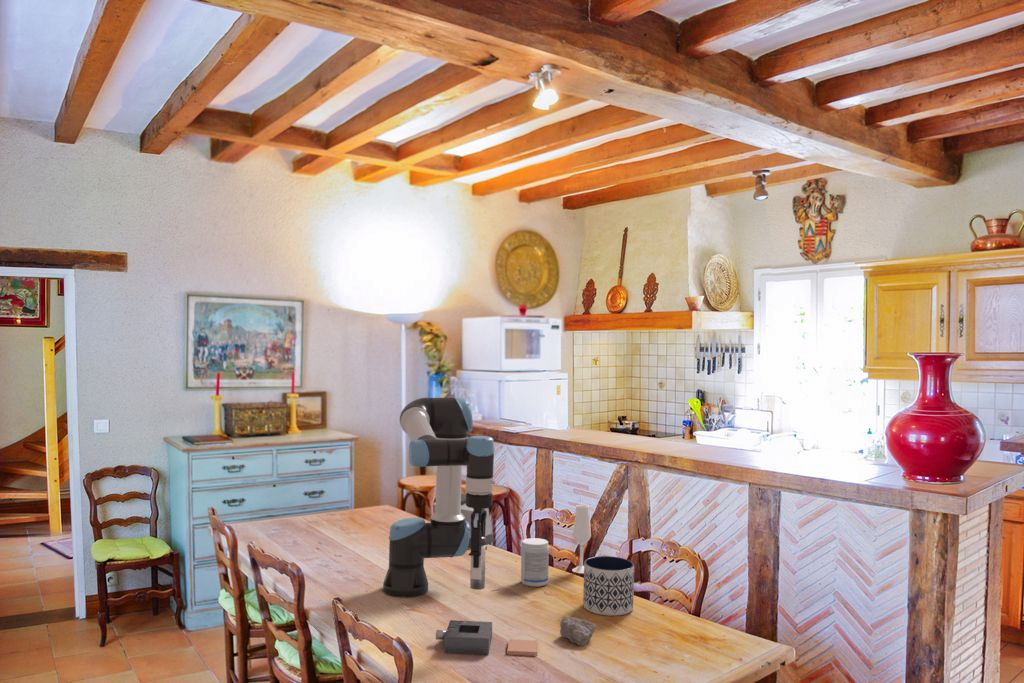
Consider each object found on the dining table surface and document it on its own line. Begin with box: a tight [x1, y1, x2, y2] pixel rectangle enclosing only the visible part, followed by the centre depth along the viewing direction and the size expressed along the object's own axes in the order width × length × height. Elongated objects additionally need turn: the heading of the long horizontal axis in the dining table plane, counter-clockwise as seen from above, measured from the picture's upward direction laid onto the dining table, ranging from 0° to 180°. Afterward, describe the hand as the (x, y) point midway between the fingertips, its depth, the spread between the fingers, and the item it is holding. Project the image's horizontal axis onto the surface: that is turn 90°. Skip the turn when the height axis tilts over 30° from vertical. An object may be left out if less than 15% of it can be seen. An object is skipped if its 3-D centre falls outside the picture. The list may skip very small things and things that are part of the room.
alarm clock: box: [432, 493, 494, 549], centre depth 319 cm, size 20×16×20 cm
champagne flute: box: [571, 504, 592, 574], centre depth 282 cm, size 7×7×24 cm
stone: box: [559, 616, 596, 647], centre depth 216 cm, size 10×8×6 cm
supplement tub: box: [520, 537, 550, 588], centre depth 266 cm, size 10×10×15 cm
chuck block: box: [435, 619, 493, 656], centre depth 210 cm, size 15×12×4 cm
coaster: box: [506, 638, 539, 657], centre depth 208 cm, size 8×8×1 cm
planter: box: [582, 555, 635, 617], centre depth 243 cm, size 16×16×14 cm
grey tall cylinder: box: [469, 536, 487, 591], centre depth 212 cm, size 4×4×14 cm
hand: (477, 576), depth 212 cm, fingers closed on grey tall cylinder, 4 cm apart
